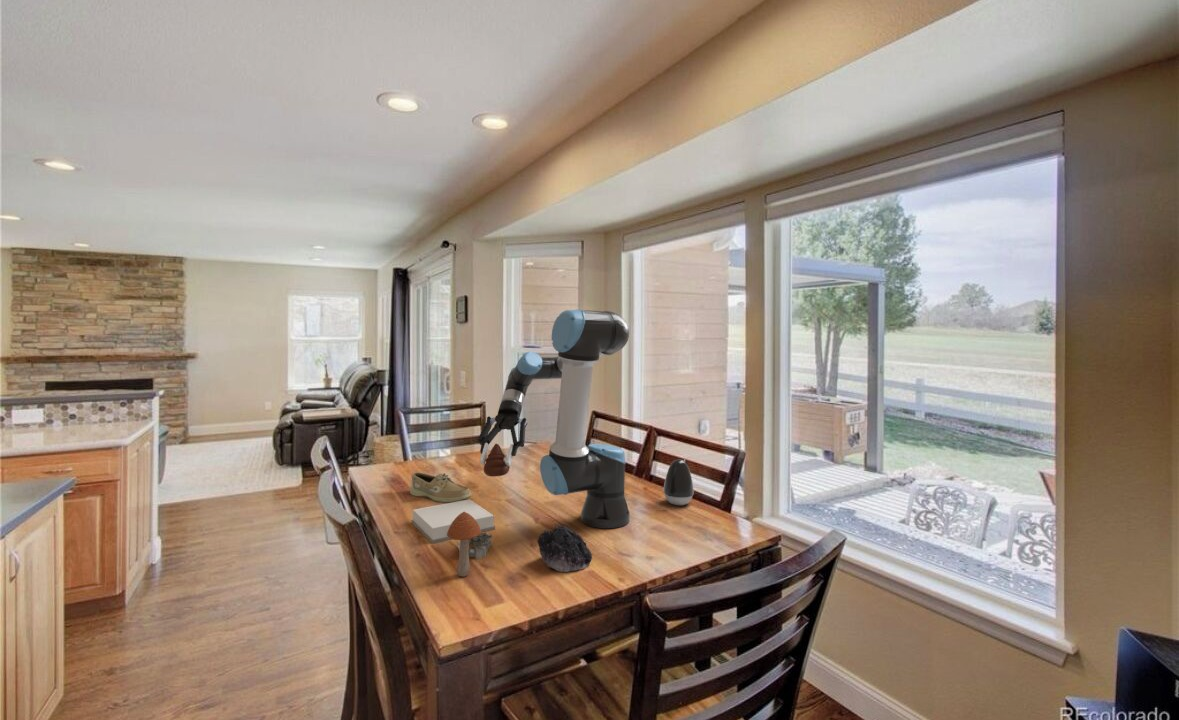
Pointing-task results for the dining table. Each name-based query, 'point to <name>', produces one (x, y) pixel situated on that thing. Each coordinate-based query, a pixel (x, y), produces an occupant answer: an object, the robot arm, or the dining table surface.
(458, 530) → the mushroom
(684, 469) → the black egg shaped device
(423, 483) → the boat shoe
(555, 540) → the crystal cluster
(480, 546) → the stone castle ruin
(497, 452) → the poop emoji
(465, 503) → the podium
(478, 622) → the dining table surface
